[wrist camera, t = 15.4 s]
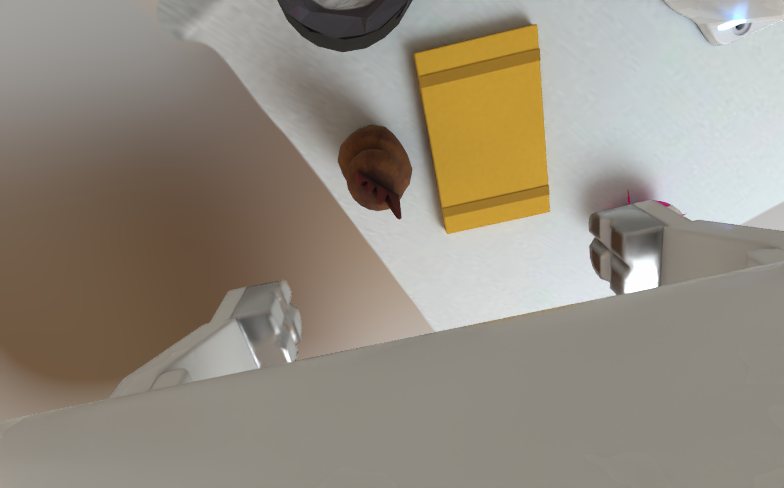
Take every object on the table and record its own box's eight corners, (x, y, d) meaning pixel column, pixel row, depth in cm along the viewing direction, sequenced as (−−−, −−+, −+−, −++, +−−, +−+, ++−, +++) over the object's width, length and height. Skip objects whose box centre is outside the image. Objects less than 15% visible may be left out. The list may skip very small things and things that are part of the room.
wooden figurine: (417, 164, 44) (438, 219, 31) (371, 195, 45) (371, 261, 32) (379, 107, 42) (383, 138, 28) (331, 141, 43) (312, 187, 29)
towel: (532, 24, 39) (537, 24, 38) (546, 208, 47) (550, 212, 46) (413, 53, 40) (414, 53, 39) (445, 229, 47) (447, 234, 46)
